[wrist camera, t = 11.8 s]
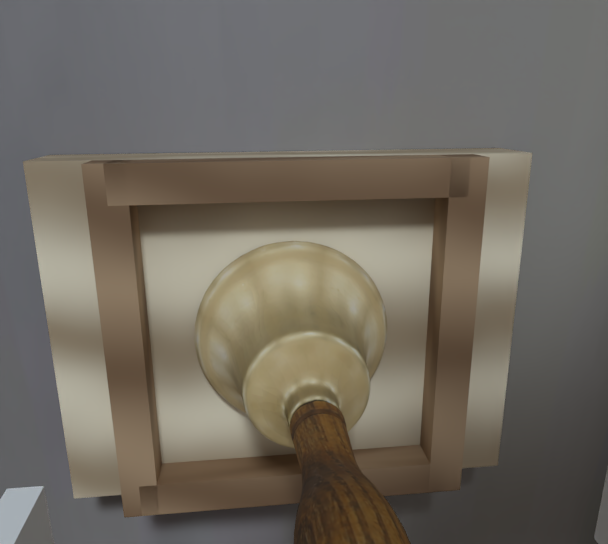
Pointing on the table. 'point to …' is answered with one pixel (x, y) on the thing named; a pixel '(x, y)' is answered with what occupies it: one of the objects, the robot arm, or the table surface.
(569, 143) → the table surface
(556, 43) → the table surface
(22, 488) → the robot arm
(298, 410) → the hand bell
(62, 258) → the stand
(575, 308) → the table surface
